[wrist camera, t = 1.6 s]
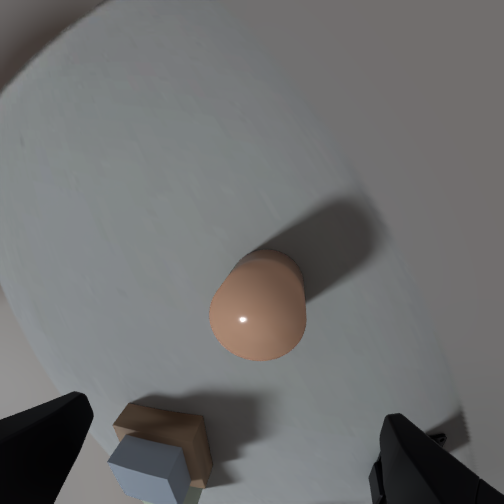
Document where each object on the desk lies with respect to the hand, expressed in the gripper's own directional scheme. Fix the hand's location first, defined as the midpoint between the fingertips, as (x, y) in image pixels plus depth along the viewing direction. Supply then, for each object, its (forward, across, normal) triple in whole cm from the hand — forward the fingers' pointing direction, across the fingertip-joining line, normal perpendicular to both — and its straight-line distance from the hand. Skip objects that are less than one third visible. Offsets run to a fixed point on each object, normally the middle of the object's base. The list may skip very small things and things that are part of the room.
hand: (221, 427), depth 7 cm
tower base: (+12, +9, +15) cm, 21 cm away
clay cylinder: (+12, 0, 0) cm, 12 cm away
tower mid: (+9, +9, +15) cm, 19 cm away
